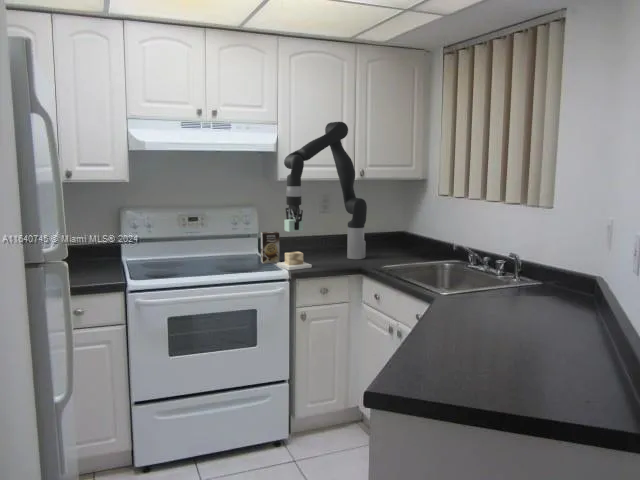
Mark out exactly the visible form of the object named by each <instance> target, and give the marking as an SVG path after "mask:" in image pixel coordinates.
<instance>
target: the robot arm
mask: <svg viewBox="0 0 640 480" xmlns="http://www.w3.org/2000/svg"><path fill="white" fill-rule="evenodd" d="M324 130H325V134H323V135H322V136H319V137H317V138H315V139H313V140H311V141H309V142H307V143H306V144H305V145H303V146H302V147H301V148H300V149H297V150H295V151H292V152H291V153H289V154H287V156H286V157H285V158H284V162H283V164H284V167H285V168H287V169H288V170H290V174H288V175H287V176H286V191H285V192H286V196H285V198H286V200H285V201H286V203H285V204H286V205H287V206H288V207H286V208H285V216H286V220H288V219H294V222H295V230H299V222H300V221H302V220H303V212H304V211H303V209H300V208H301V207H300V206H301V205H302V175H303V171H304V165H305V162H307V161H309V160H311V159H312V158H314V157H315V156H316V155H318V154H319V153H320V152H321V151H323V150H325V149H326V148H328V147H330V150H331V153H332V157H333V162H334V163H335V169H336V173H337V175H338V180H339V183H340V188H341V192H342V197H343V203H344V208H345V211H346V212H347V213H348V214H349V215H352V217H351V219H350V220H349V221H348V222H347V240H346V241H347V244H346V245H347V246H346V247H347V249H346V250H347V251H346V252H347V253H346V255H347V256H346V258H347V259H348V260H349V259H350V260H363V259H365V258H366V246H367V244H366V240H365V226H366V225H365V224H366V222H367V213H368V212H367V210H368V205H367V202H366V200H365V199H364V198H361V197H360V198H359V197H356V193H355V188H354V183H355V180H356V171H355V165H354V163H353V160H352V159H351V157H350V156H349V154H348V153H347V151H346V150H345V148H344V146H343V145H342V140H344V139H345V138H346V137H347V136H348V134H349V128H348V125H347V124H346V123H345V122H343V121H332V122H329V123H327V124H326V125H325V128H324Z"/></svg>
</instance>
